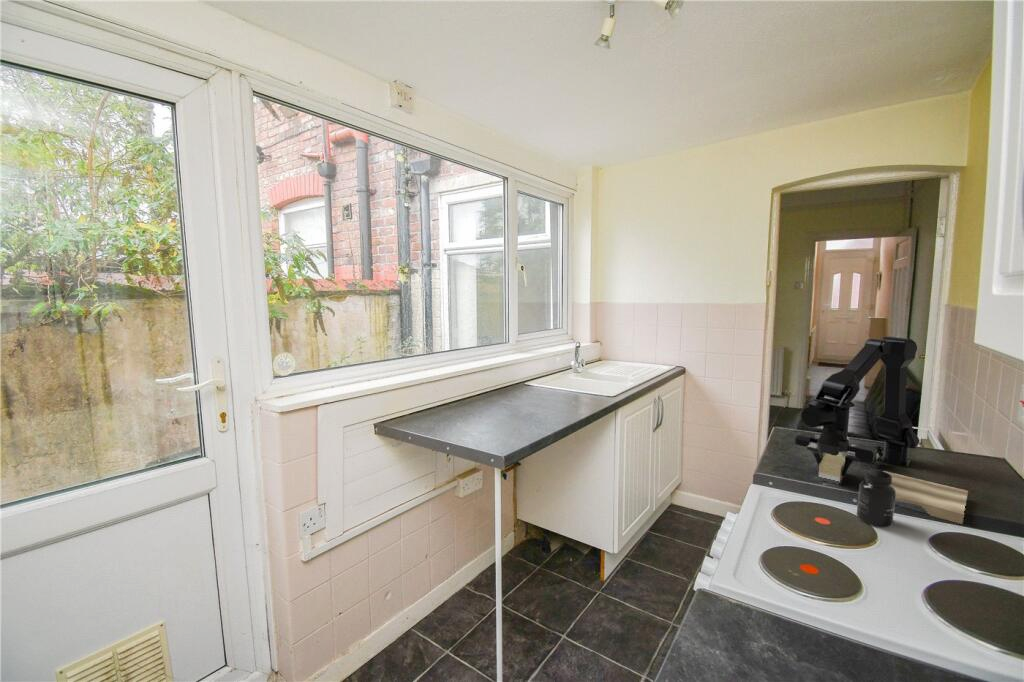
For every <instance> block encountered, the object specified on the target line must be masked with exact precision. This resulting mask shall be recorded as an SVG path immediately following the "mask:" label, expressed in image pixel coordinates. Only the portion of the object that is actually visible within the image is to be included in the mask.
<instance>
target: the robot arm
mask: <svg viewBox="0 0 1024 682" xmlns="http://www.w3.org/2000/svg"><path fill="white" fill-rule="evenodd" d="M917 351H918V345H917V343H916V341H914V339H912V338H907V337H906V338H905V337H897V336H886V335H885V336H884V337H883V338H868V339H867V340H865V343H864V345H863V347H862V348H861V349H860V350H859V351H858V353H857V354H856V355H855V356H854V357H853V358H852V359H851V360H850V361H849V363H848V364H847V365H846V366H845V367H844V368H843V369H842V370H840V371H838V372H836V373H833V374H831V375H830V376H828V377H827V378H826V379H825V380H824V382H822V384H821V385H820V387H819V389H818V391H817V392H816V394H815V396H814V398H813V399H812V401H813V402H809V403H808V406H807V407H805V408H804V409H803V410H802V412H801V413H800V416H801V420H802V422H803V423H804V425H806V426H807V427H809V428H819V427H822V431H821V433H820V436H819V438H818V437H816V434H815V433H811V432H807V431H800V432H799V433H798V434H796V435H795V437H794V444H795V445H796V446H801V447H806V449H807V450H808V451H810V452H811V453H812V454H813V456H814V458H815V462H816V463H817V467H818V468H819V464H820V462H821V461H822V459H823V457H824V454H831V455H834V456H836V455H838V454H839V452H847V453H848V454H847V455H846V457H845V463H844V467H843V471H842V476H843V478H844V477H846V474H847V472H848V471H849V469H850V467H851V465H852V463H853V462H854V461H855V462H859V461H860V460H862V461H867V462H870V463H871V462H872V461H873V460H874V459H875V457H876V456H877V448H875V445H874V446H873V445H869V444H864V443H858V445H855V446H851V445H852V444H850V440H849V441H848V440H847V437H848V434H849V423H850V422H849V420H850V409H851V408H853V407H856V405H855V403H854V402H852V401H853V400H854V399H855V397H856V396H857V395H858V393H859V391H860V390H861V388H860V382H861V381H862V380H863V379H864V378H865V376H867V374H869V372H870V371H871V370H872V368H873V367H874V366H875V365H876V364H877V363H878V361H881V362H882V363H883V365H884V366H885V369H884V370H885V373H884V375H885V376H884V404H883V405H884V407H883V409H884V410H883V412H882V413H881V414H880V415H879V416H877V417H875V425H874V430H875V433H876V434H875V435H876V439H877V440H880V441H883V442H884V447H883V456H881V460H882V461H881V463H886V464H891V465H894V466H898V467H899V466H900V467H904V468H908V467H909V465H910V463H911V459H909V451H910V449H917V447H918V446H919V444H920V438H919V436H918V435H917V434H916V432H915V431H914V429H913V422H912V420H911V419H910V417H909V416H908V413H907V412H906V403H907V383H908V367H909V366H910V364H911V363H912V362H913V361H914V360H915V358H916V353H917Z"/></svg>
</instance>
